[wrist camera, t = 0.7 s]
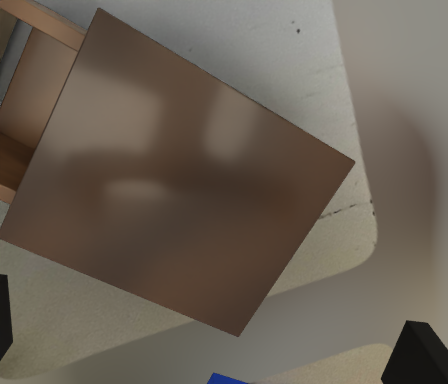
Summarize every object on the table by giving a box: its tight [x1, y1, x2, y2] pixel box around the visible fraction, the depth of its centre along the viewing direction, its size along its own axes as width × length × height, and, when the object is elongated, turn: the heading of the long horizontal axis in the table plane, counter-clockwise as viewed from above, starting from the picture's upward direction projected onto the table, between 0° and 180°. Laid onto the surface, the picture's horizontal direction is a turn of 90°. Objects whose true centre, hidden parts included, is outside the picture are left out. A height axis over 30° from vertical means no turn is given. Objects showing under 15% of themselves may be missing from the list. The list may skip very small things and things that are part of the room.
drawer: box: [0, 0, 87, 204], centre depth 20 cm, size 17×10×8 cm, turn 60°
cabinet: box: [0, 8, 355, 337], centre depth 22 cm, size 14×12×10 cm
